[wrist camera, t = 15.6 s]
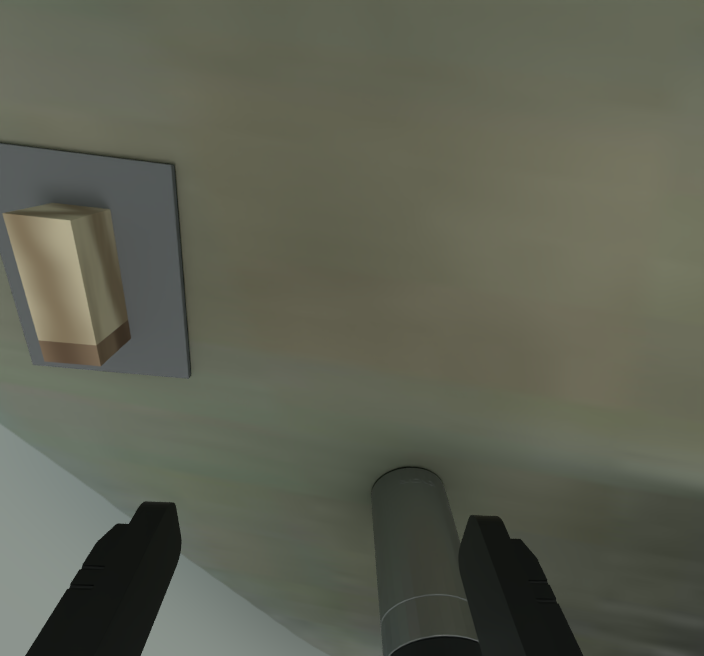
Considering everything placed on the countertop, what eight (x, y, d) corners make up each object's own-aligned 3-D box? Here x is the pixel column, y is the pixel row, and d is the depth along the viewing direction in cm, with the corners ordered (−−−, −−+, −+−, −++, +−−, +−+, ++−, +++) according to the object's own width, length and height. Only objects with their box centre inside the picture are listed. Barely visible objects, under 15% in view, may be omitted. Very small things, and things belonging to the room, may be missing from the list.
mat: (190, 375, 39) (188, 378, 38) (37, 361, 38) (33, 364, 37) (174, 164, 30) (171, 165, 29) (-26, 139, 29) (-33, 139, 28)
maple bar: (110, 209, 31) (70, 220, 26) (131, 338, 36) (100, 366, 32) (52, 202, 31) (2, 213, 26) (82, 334, 36) (44, 361, 31)
